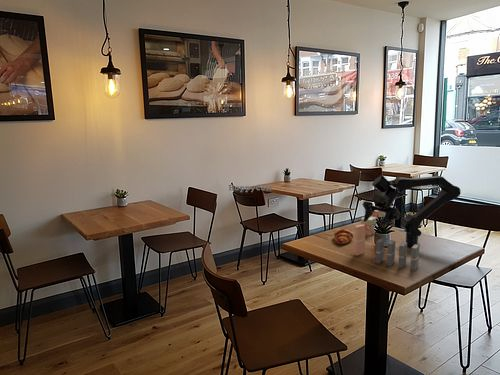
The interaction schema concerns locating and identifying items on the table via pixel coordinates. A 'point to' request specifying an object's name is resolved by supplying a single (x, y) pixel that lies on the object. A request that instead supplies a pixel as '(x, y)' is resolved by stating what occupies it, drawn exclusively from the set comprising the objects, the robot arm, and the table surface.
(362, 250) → the domino
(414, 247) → the domino
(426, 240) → the table surface
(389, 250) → the domino
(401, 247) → the domino
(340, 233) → the croissant
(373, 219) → the stack of blocks
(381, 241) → the domino
